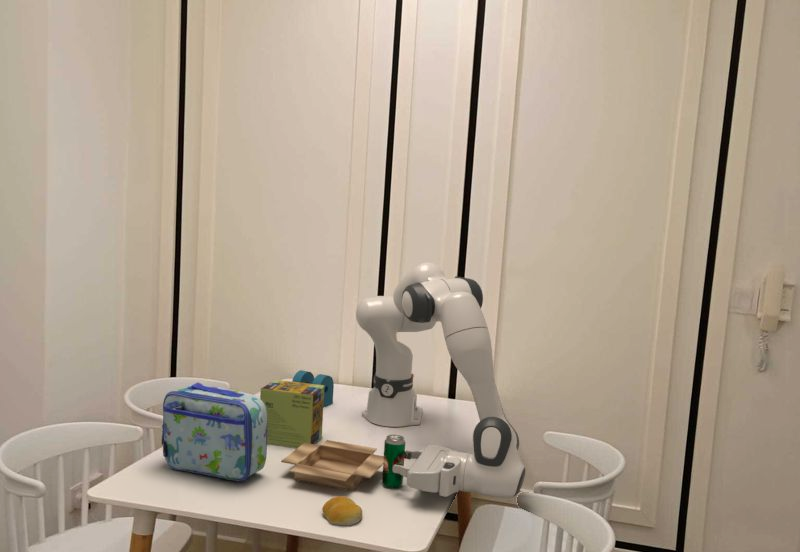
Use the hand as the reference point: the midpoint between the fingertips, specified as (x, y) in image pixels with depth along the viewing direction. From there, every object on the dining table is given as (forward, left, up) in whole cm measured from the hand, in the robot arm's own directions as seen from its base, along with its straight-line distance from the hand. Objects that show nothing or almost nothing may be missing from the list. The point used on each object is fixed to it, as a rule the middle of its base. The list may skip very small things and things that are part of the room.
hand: (399, 460), depth 175 cm
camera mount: (-46, -45, -7) cm, 65 cm away
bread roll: (+21, -6, -7) cm, 23 cm away
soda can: (0, -1, -7) cm, 7 cm away
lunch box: (+11, -44, -7) cm, 46 cm away
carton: (0, -16, -6) cm, 17 cm away
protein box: (-17, -36, -7) cm, 41 cm away
